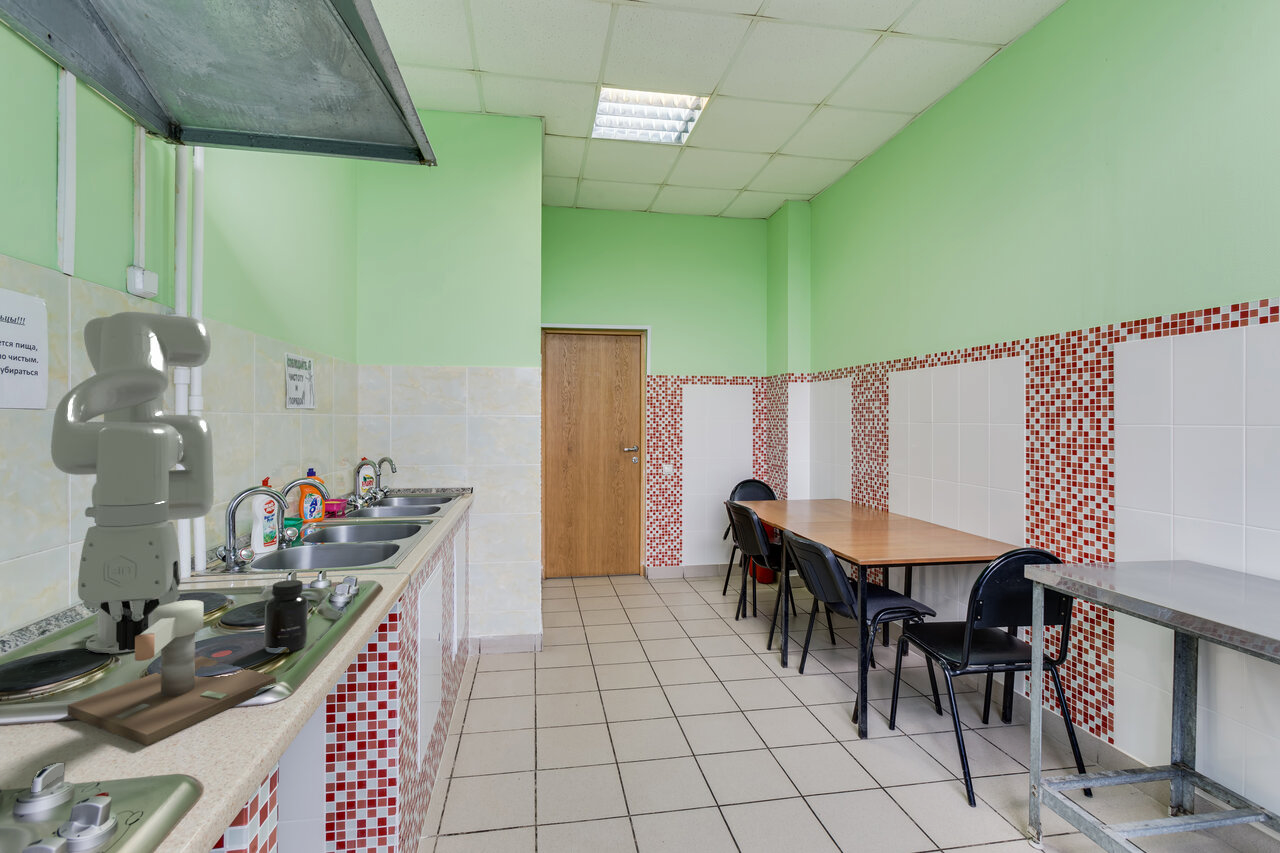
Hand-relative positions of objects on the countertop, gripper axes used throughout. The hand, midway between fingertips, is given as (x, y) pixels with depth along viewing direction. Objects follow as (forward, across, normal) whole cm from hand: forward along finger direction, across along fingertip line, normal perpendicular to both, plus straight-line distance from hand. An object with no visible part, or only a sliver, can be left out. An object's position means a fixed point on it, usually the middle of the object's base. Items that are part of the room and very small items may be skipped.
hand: (132, 646), depth 81 cm
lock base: (+11, +2, +7) cm, 13 cm away
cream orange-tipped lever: (+1, +3, +3) cm, 4 cm away
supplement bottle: (+11, +12, +25) cm, 30 cm away
